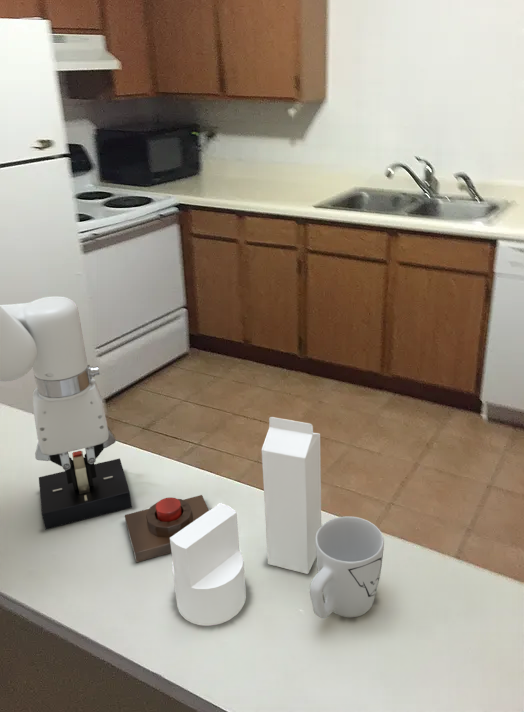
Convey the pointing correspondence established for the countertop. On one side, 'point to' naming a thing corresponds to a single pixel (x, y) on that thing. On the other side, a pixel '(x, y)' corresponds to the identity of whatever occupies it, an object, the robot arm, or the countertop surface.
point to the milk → (291, 493)
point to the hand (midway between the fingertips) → (82, 482)
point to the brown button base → (160, 528)
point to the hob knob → (80, 472)
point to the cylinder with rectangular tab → (209, 568)
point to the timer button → (168, 509)
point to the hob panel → (84, 496)
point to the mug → (346, 567)
